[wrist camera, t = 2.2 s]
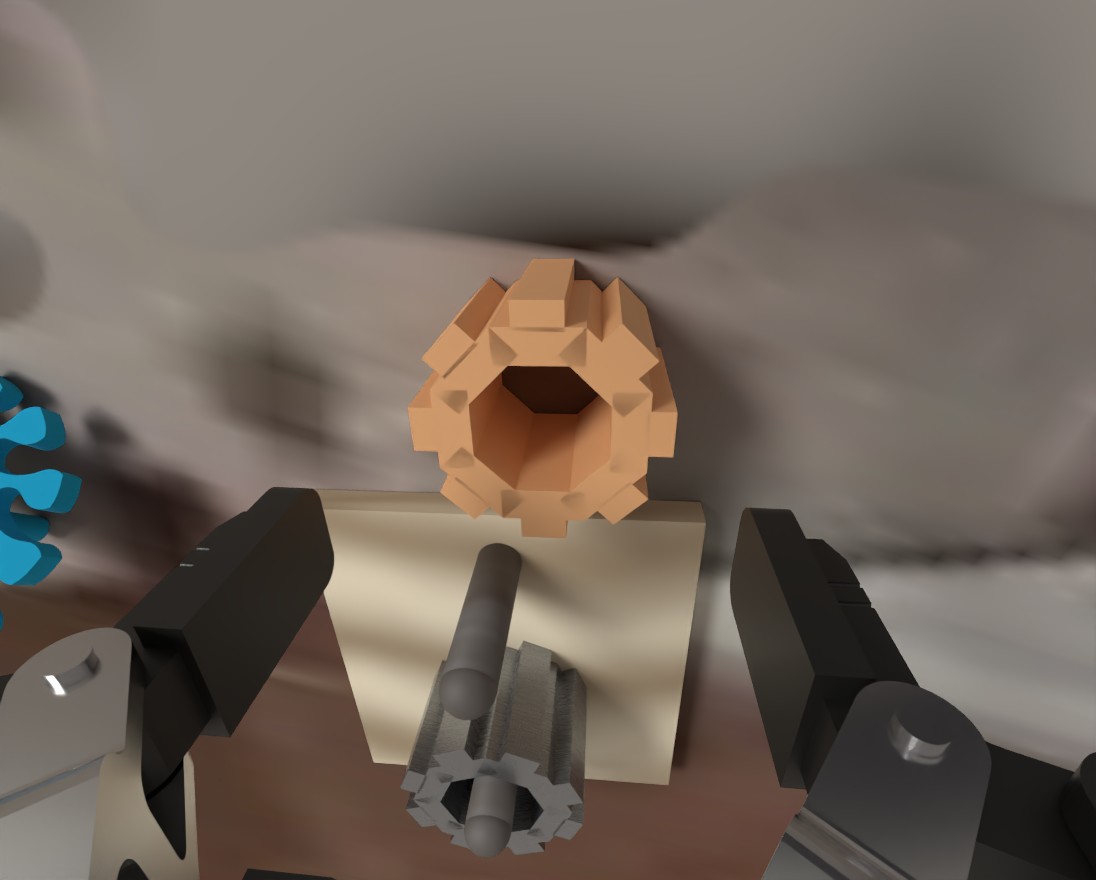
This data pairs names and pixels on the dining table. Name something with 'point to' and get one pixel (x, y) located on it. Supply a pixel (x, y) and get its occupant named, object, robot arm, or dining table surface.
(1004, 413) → the dining table surface
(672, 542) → the peg board
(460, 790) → the gear
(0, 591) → the dining table surface
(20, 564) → the blue sprocket wheel
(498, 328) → the gear
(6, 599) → the dining table surface
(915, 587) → the dining table surface
